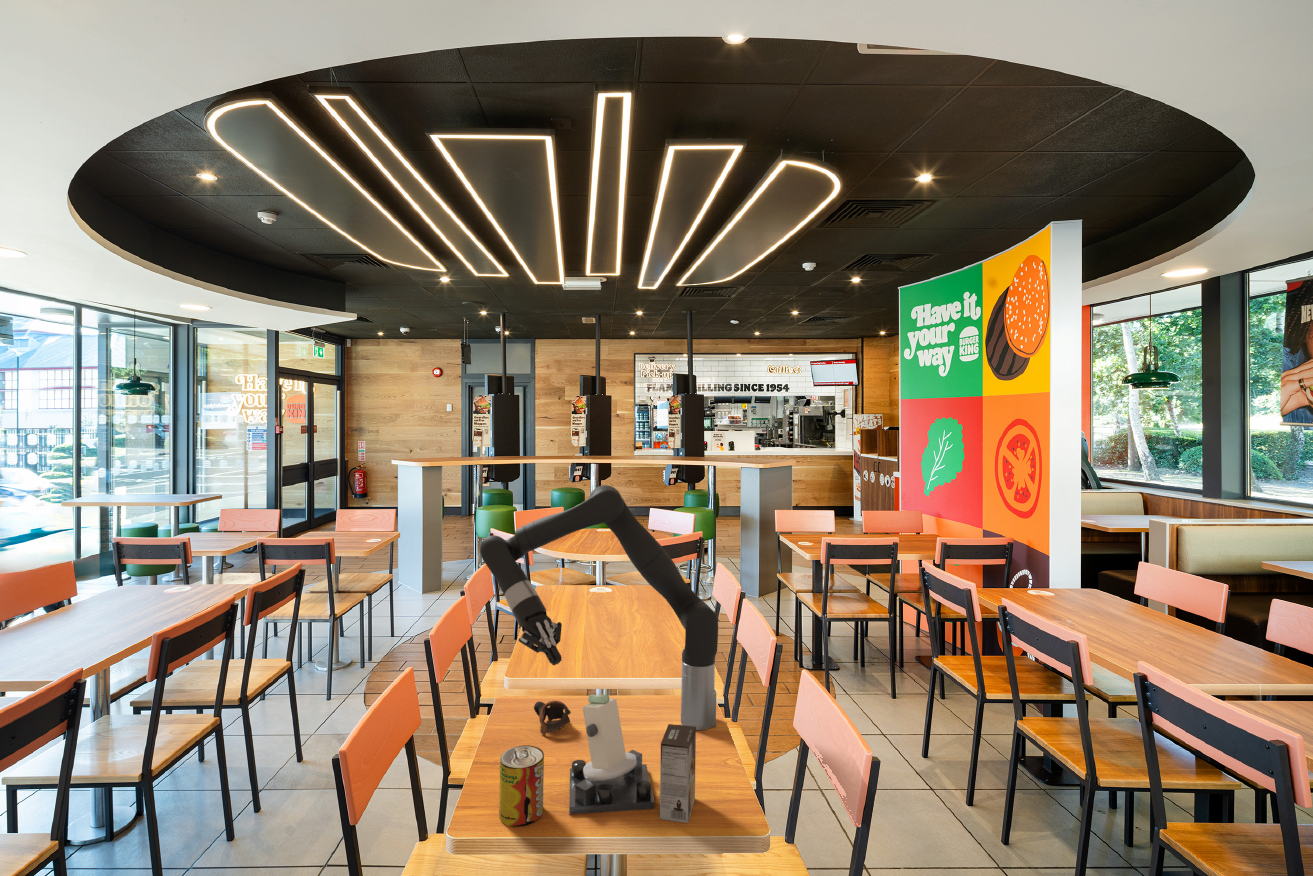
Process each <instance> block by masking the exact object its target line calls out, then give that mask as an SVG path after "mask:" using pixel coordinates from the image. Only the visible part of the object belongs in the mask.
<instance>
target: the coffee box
mask: <svg viewBox="0 0 1313 876" xmlns="http://www.w3.org/2000/svg"><path fill="white" fill-rule="evenodd" d="M696 738H697V730H696V727H695V726H685V725H682V724H672V723H668V724H667V728H666V730H665V732H664V734H663V737H662V739H661V742H660V768H659V769H660V771H659V773H660V774H659V775H660V776H659V777H660V779H659V781H660V782H659V787H660V788H659V820H664V821H669V822H670V821H671V822H677V823H684V824H685V823H686V824H689V822H690V819H691V815H692V810H693V808H694V804H695V799H696V755H697V754H696V748H697V745H696V743H697V742H696V740H697V739H696Z"/></svg>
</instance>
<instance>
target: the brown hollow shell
mask: <svg viewBox="0 0 1313 876" xmlns="http://www.w3.org/2000/svg"><path fill="white" fill-rule="evenodd" d="M533 710H534V713H536V715H537V716H538V720H539V723H540V725H541V726H540V729H539V732H540V734H542V735H543V736H546V734H549V733H554V732H557V731H560V730H562V728H564V727H565V726H566V725H567V724H569V723H571V720H570V717H569V715H570V714H571V713H572V711H571V710H570V709H569V708H568V706H567V705H566V704H565V703H564V702H562V701H561V700H551V701H548V702H546V703H544V702H543V701H536V702H535V703H534V705H533ZM546 718H547V720H546ZM545 720H546V722H545ZM553 720H556V721H553Z"/></svg>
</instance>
